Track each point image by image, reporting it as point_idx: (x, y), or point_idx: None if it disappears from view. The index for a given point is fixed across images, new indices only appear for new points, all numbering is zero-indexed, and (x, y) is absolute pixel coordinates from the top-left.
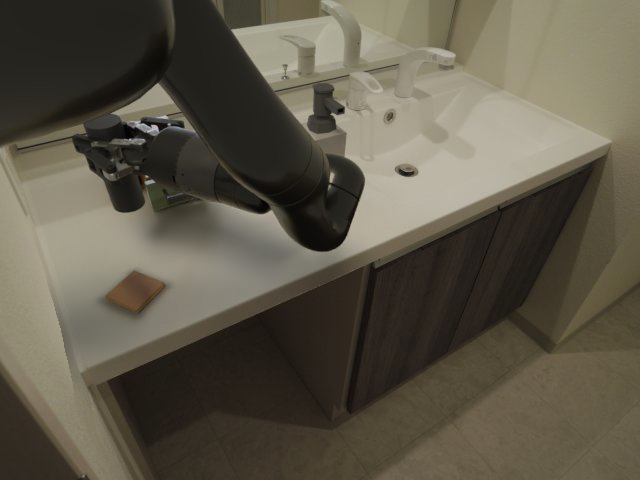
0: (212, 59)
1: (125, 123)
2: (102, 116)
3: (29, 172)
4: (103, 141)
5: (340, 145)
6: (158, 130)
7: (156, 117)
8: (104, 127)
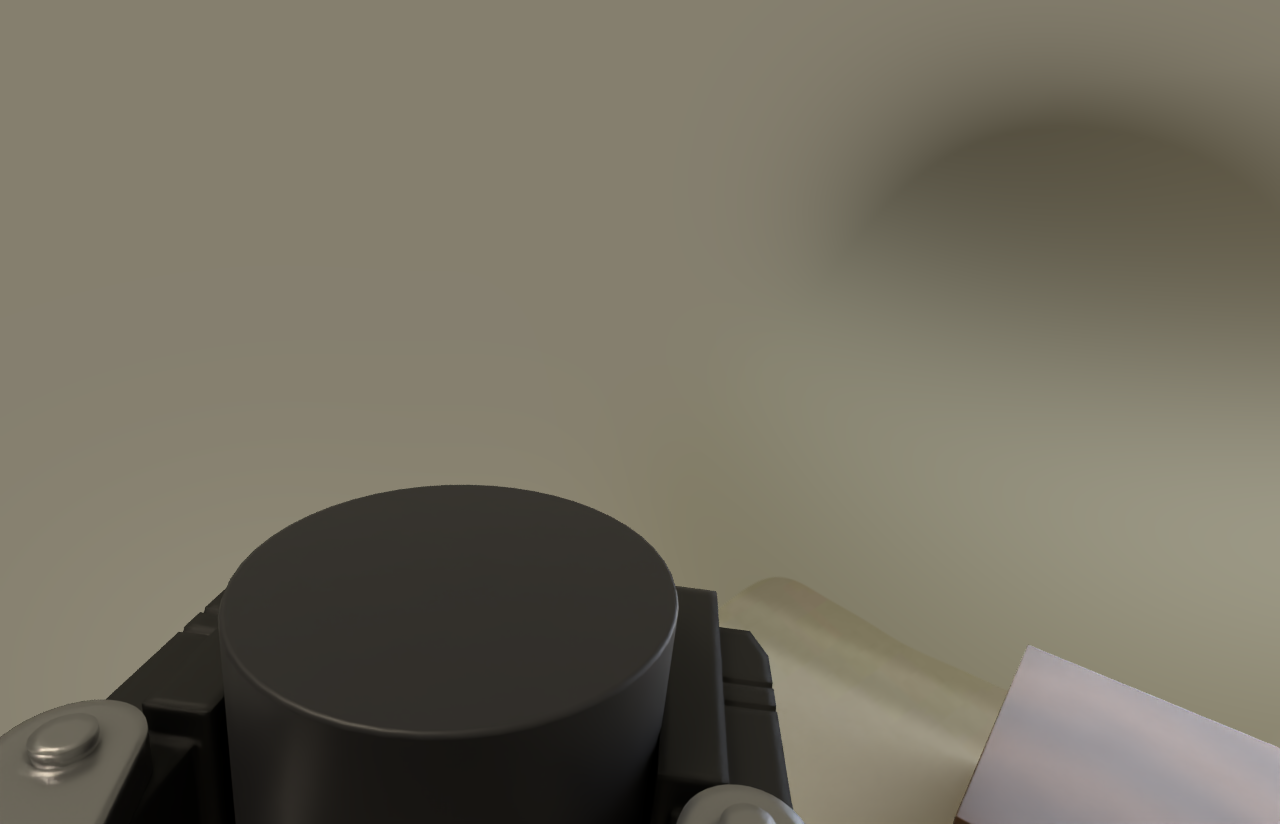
0: None
1: (707, 774)
2: (573, 544)
3: (742, 604)
4: (95, 802)
5: None
6: (1231, 813)
7: (1268, 744)
8: (270, 655)
